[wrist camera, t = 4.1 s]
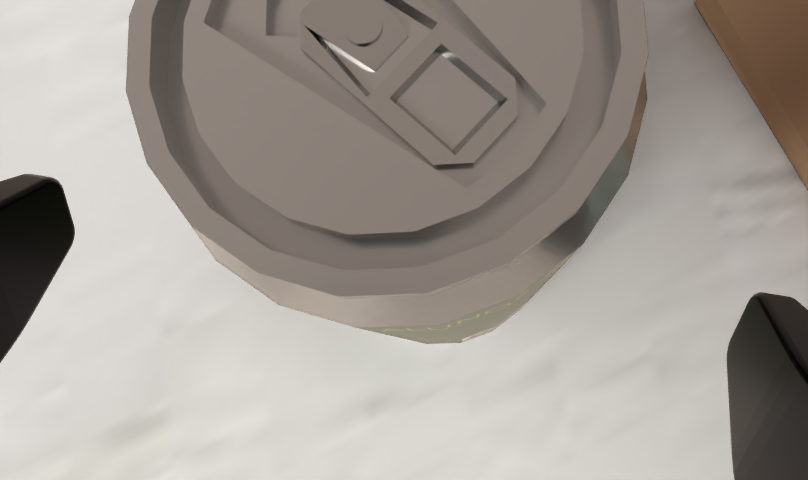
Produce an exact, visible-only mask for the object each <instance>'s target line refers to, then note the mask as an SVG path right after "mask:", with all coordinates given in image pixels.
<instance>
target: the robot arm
mask: <svg viewBox="0 0 808 480" xmlns="http://www.w3.org/2000/svg"><path fill="white" fill-rule="evenodd" d="M74 235H75V228H74V224H73V221H72V217H71V214H70V210H69V207H68V204H67V200H66V197H65V194H64V190H63V187H62V185H61V184H60V183H59V181H58V180H56V179H54V178H52V177H46V176H40V175H34V174H23V175H20V176H16V177H13V178H10V179H7V180H4V181H0V363H1V361H2V360H3V358H4V357H5V356H6V354H7V353H8V351H9V350H10V349H11V347H12V346H13V344H14V343H15V341H16V340H17V338H18V337H19V335H20V334H21V332H22V331H23V329H24V328H25V326H26V324H27V323H28V321H29V319H30V318H31V316H32V314H33V312H34V311H35V309H36V307H37V305H38V304H39V302H40V300H41V298H42V297H43V295H44V293H45V291H46V290H47V288H48V286H49V284H50V283H51V281H52V279H53V277H54V276H55V274H56V272H57V270H58V269H59V267H60V265H61V263H62V262H63V260H64V258H65V256H66V255H67V253H68V251H69V249H70V248H71V246H72V243H73V240H74ZM727 374H728V392H729V410H730V428H731V446H732V461H733V473H734V479H735V480H808V310H807V309H806V308H805V307H804V306H802V305H801V304H800V303H799V302H798V301H796V300H795V299H793V298H791V297H787V296H781V295H774V294H768V293H757V294H755V295H753V296H752V298H751V299H750V300H749V302H748V304H747V306H746V308H745V310H744V312H743V314H742V316H741V319H740V321H739V323H738V325H737V327H736V329H735V331H734V333H733V335H732V338H731V340H730V342H729V346H728V351H727Z"/></svg>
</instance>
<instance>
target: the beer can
mask: <svg viewBox="0 0 808 480" xmlns="http://www.w3.org/2000/svg"><path fill="white" fill-rule="evenodd" d="M647 58H648V45H647V34H646V24H645V13H644V3H643V0H135V2H134V5H133V8H132V10H131V13H130V16H129V33H128V56H127V80H126V93H127V96H128V100H129V103H130V107H131V110H132V114H133V117H134V120H135V124H136V127H137V131H138V134H139V138H140V141H141V144H142V148H143V151H144V155H145V158H146V162H147V164H148V166H149V167H150V168H151V170H152V171H153V173H154V174H155V175H156V177H157V178H158V180H159V181H160V182H161V184H162V185H163V187H164V188H165V189H166V191H167V192H168V194H169V195H170V196H171V198H172V199H173V201H174V202H175V204H176V205H177V206H178V208H179V209H180V211H181V212H182V213H183V215H184V216H185V218H186V219H187V220H188V222H189V223H190V225H191V226H192V227H193V229H194V230H195V232H196V233H197V234H198V236H199V237H200V239H201V240H202V241H203V243H204V244H205V246H206V247H207V248H208V250H209V251H210V253H211V254H212V256H213V257H214V258H215V260H216V261H218V262H219V263H221V264H222V265H223V266H225V267H226V268H228V269H229V270H230V271H232V272H233V273H235V274H236V275H237V276H239V277H240V278H242V279H243V280H244V281H246V282H247V283H249V284H250V285H252V286H253V287H254V288H256V289H257V290H259V291H260V292H261V293H263V294H264V295H266V296H267V297H268V298H270V299H271V300H273V301H274V302H275V303H277V304H278V305H281V306H285V307H288V308H291V309H295V310H298V311H301V312H305V313H308V314H312V315H315V316H318V317H322V318H325V319H328V320H332V321H335V322H339V323H342V324H345V325H349V326H352V327H355V328H360V329H364V330H369V331H373V332H377V333H382V334H386V335H391V336H395V337H400V338H404V339H408V340H413V341H417V342H422V343H426V344H433V343H461V342H464V341H467V340H469V339H472V338H475V337H478V336H480V335H483V334H486V333H489V332H491V331H493V330H495V329H496V328H497V327H498V326H500V325H501V324H502V323H503V322H505V321H506V320H507V319H509V318H510V317H511V316H512V315H514V314H515V313H516V312H517V311H519V310H520V309H521V308H522V307H523V306H524V305H525V304H526V303H527V302H528V300H529V299H530V298H531V297H532V296H533V295H534V294H535V293H536V292H537V291H538V290H539V289H540V288H541V287H542V286H543V285H544V284H545V283H546V282H547V281H548V280H549V279H550V278H551V277H552V276H553V275H554V273H555V272H556V271H557V270H558V269H559V268H560V267H561V266H562V265H563V264H564V263H565V262H566V261H567V260H568V259H569V258H570V257H571V256H572V255H573V254H574V253H575V252H576V251H577V250H578V249H579V248H580V246H581V245H582V244H583V243H584V242H585V240H586V238H587V237H588V235H589V234H590V232H591V231H592V229H593V228H594V226H595V225H596V223H597V222H598V220H599V219H600V217H601V216H602V214H603V213H604V211H605V210H606V208H607V206H608V205H609V203H610V202H611V200H612V199H613V197H614V196H615V194H616V193H617V191H618V190H619V188H620V187H621V185H622V184H623V182H624V181H625V179H626V177H627V176H628V173H629V169H630V165H631V161H632V157H633V153H634V149H635V145H636V141H637V137H638V133H639V129H640V125H641V121H642V117H643V113H644V109H645V105H646V101H647V91H646V81H645V66H646V62H647Z"/></svg>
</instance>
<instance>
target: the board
mask: <svg viewBox="0 0 808 480" xmlns="http://www.w3.org/2000/svg"><path fill="white" fill-rule="evenodd" d="M694 3H695V5H696V7H697V8H698V10H699V12H700V13H701V15H702V16H703V18H704V20H705V21H706V23H707V25H708V26H709V28H710V30H711V31H712V33H713V35H714V36H715V38H716V40H717V41H718V43H719V45H720V46H721V48H722V49H723V51H724V53H725V54H726V56H727V58H728V59H729V61H730V63H731V64H732V66H733V68H734V69H735V71H736V73H737V74H738V76H739V77H740V79H741V81H742V82H743V84H744V86H745V87H746V89H747V91H748V92H749V94H750V96H751V97H752V99H753V101H754V102H755V104H756V106H757V107H758V109H759V110H760V112H761V114H762V115H763V117H764V119H765V120H766V122H767V124H768V125H769V127H770V129H771V130H772V132H773V134H774V135H775V137H776V138H777V140H778V142H779V143H780V145H781V147H782V148H783V150H784V152H785V153H786V155H787V157H788V158H789V160H790V162H791V163H792V165H793V167H794V168H795V170H796V171H797V173H798V175H799V176H800V178H801V180H802V181H803V183H804V185H805V186H806V188H807V190H808V0H696V1H695V2H694Z"/></svg>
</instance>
